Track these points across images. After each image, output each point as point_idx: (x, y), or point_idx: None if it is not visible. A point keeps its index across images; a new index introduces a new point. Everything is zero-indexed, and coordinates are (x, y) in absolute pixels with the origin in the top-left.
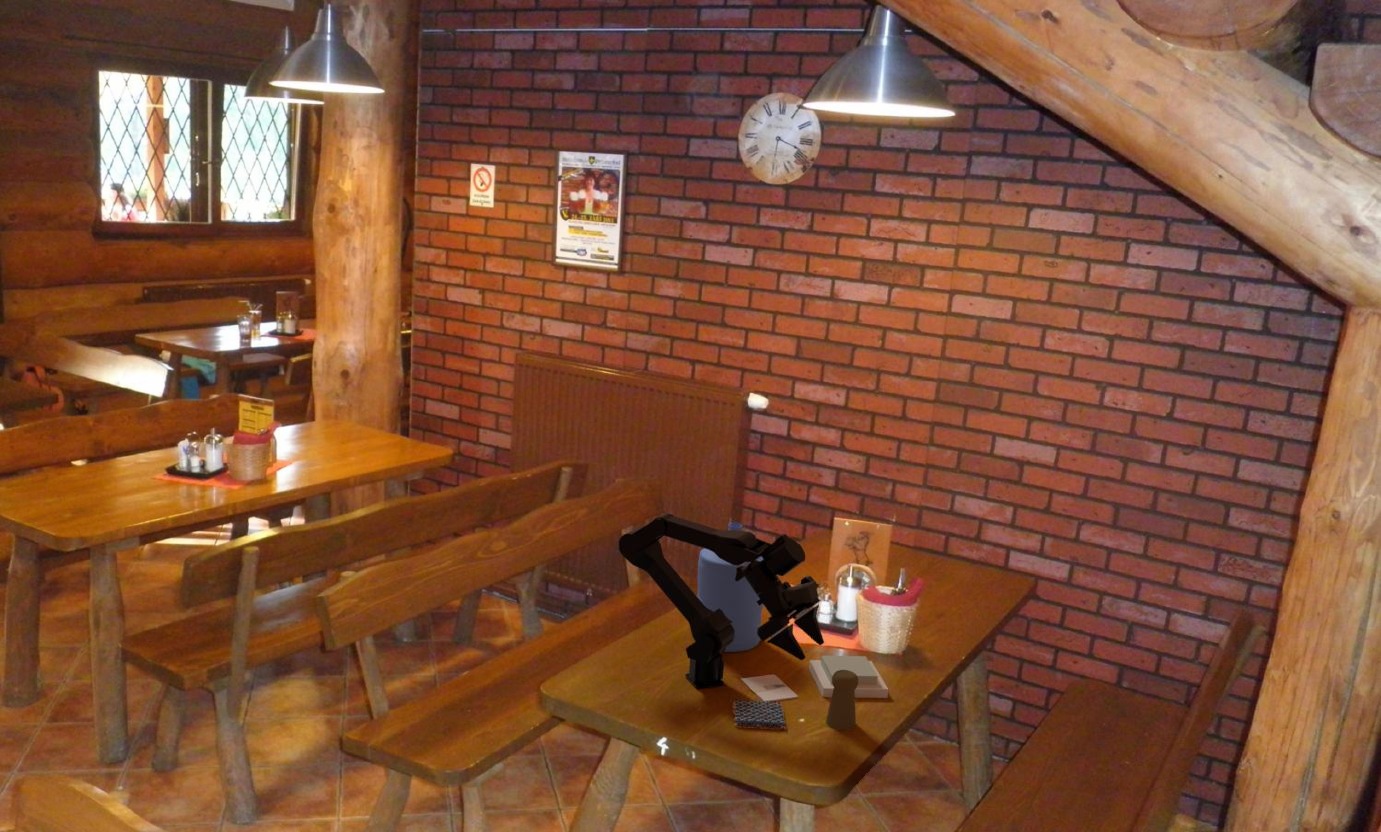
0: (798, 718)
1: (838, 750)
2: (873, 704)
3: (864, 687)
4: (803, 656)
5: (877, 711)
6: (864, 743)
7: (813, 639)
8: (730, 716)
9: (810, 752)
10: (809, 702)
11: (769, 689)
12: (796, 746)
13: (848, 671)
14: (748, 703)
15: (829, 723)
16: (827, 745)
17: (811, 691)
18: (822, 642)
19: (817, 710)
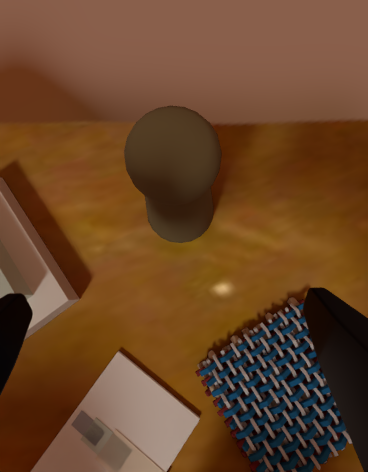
0: (221, 298)
1: (294, 166)
2: (51, 189)
3: (6, 216)
4: (332, 296)
5: (79, 170)
6: (231, 139)
7: (9, 372)
8: (334, 457)
9: (344, 207)
10: (126, 313)
11: (126, 442)
12: (344, 242)
13: (153, 135)
14: (270, 446)
15: (209, 223)
16: (291, 192)
17: (65, 337)
18: (19, 299)
19: (154, 278)
